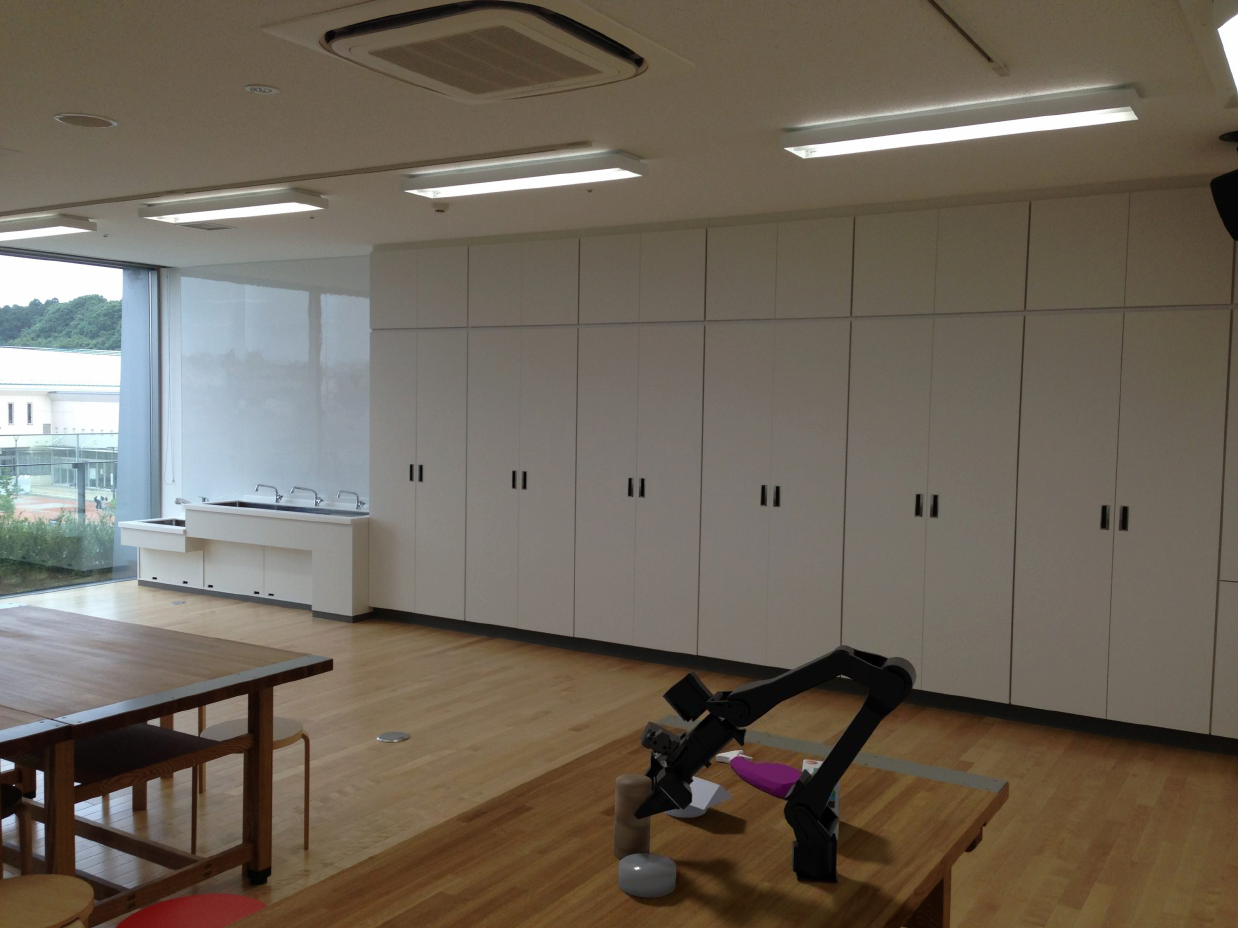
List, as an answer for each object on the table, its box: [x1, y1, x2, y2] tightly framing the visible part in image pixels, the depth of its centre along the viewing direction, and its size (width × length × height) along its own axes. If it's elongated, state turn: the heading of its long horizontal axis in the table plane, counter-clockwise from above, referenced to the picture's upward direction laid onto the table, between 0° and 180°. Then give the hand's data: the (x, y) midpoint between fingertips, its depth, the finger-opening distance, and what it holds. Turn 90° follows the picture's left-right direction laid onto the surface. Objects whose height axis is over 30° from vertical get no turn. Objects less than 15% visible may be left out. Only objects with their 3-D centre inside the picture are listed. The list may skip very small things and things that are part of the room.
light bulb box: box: [801, 759, 841, 842], centre depth 185 cm, size 11×7×11 cm, turn 168°
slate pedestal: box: [617, 852, 677, 899], centre depth 161 cm, size 9×9×3 cm
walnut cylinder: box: [613, 773, 652, 860], centre depth 172 cm, size 6×6×12 cm
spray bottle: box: [715, 749, 802, 799], centre depth 212 cm, size 3×11×24 cm
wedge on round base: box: [662, 775, 735, 819], centre depth 191 cm, size 9×7×13 cm
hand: (634, 806), depth 172 cm, fingers open, 9 cm apart
